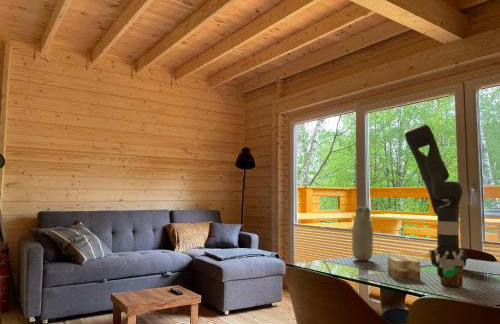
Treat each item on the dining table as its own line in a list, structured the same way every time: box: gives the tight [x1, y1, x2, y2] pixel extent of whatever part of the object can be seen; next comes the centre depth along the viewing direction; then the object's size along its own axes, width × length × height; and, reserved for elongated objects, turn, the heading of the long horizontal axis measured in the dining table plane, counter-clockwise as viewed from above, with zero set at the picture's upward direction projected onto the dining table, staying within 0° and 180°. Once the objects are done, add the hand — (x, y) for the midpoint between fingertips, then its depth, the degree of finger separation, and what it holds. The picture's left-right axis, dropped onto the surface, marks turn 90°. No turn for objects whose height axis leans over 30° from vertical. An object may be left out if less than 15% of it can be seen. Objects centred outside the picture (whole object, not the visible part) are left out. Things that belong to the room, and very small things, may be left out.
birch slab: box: [387, 256, 421, 273], centre depth 166 cm, size 10×10×4 cm
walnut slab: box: [387, 266, 421, 282], centre depth 166 cm, size 10×10×4 cm
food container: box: [436, 256, 464, 288], centre depth 154 cm, size 12×6×10 cm, turn 5°
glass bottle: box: [351, 205, 374, 262], centre depth 207 cm, size 10×10×28 cm
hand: (448, 277), depth 154 cm, fingers closed on food container, 5 cm apart
